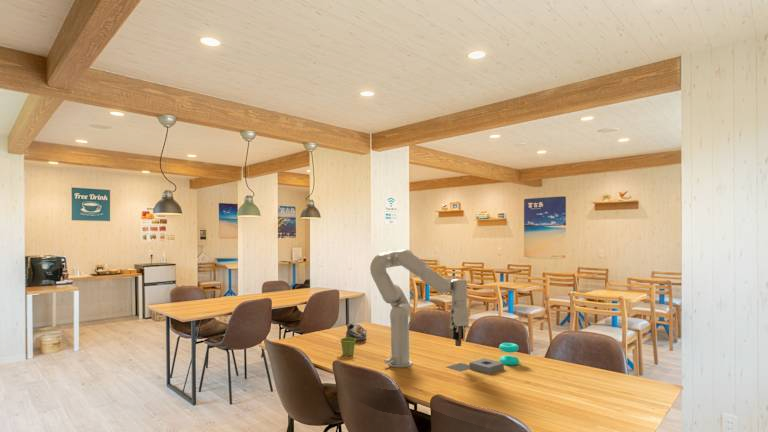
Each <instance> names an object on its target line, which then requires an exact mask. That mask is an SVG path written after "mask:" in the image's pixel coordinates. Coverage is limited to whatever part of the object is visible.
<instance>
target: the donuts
mask: <svg viewBox="0 0 768 432" xmlns="http://www.w3.org/2000/svg"><path fill="white" fill-rule="evenodd" d="M498 349H500V351H501V352H504V353H509V354H511V353H516V352H518V351H519V349H520V347H519V345H518V344H516V343H514V342H502V343H501V344H499V346H498ZM499 362H501V363H504V366H509V367H512V366H513V367H515V366H517V365H519V364H520V359H519V358H518V357H517V356H514V355H507V354H506V355H502V356H501V357H500V358H499Z"/></svg>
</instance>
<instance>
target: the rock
mask: <svg viewBox="0 0 768 432" xmlns="http://www.w3.org/2000/svg"><path fill="white" fill-rule="evenodd" d="M346 328H347V330H346V333H345V338H355V339H356V341H360V340H367V336H368V335H367V331H368V330H367V329H365V327H364V326H363V325H361V324H360V323H347V325H346Z"/></svg>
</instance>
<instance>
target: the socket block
mask: <svg viewBox="0 0 768 432" xmlns="http://www.w3.org/2000/svg"><path fill="white" fill-rule="evenodd" d="M469 365H470V369H469V370H472V371H475V372H479V373H483V374H487V375H491V374H495V373H497V372H500V371H504V370H505V365H504V363H501V362H500V361H498V360H492V359H488V358H481V359H477V360H474V361H470V362H469Z"/></svg>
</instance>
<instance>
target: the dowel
mask: <svg viewBox="0 0 768 432" xmlns="http://www.w3.org/2000/svg"><path fill="white" fill-rule="evenodd" d="M458 332H459V340H455V339H454V342H455V343H454V345H455V346H457V347H462V339H461V332H462V326H459V327H458Z"/></svg>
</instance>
